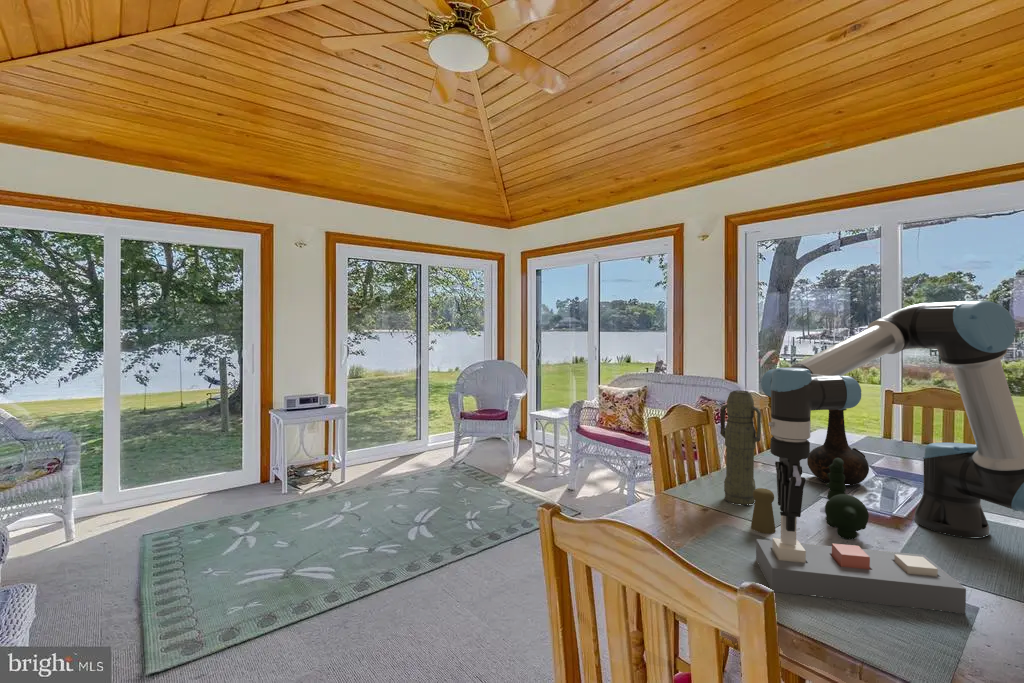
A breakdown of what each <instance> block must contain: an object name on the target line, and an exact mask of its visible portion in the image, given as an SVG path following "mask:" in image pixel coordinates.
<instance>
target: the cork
mask: <svg viewBox="0 0 1024 683" xmlns="http://www.w3.org/2000/svg"><path fill="white" fill-rule="evenodd" d="M753 498H754V501H755V503H754V505H753V513H752V518H751V524H750V528H751V530H753V531H754V530H755V532H757V533H761V534H765V535H767V534H768V535H769V534H775V533H776V531H777V530H776V524H775V516H774V511H773V510H774V508H773V502H774V501H775V494H774V493H773V491H772V490H771V489H768V488H763V487H758V488H757V487H756V488H755V490H754V491H753Z"/></svg>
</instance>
